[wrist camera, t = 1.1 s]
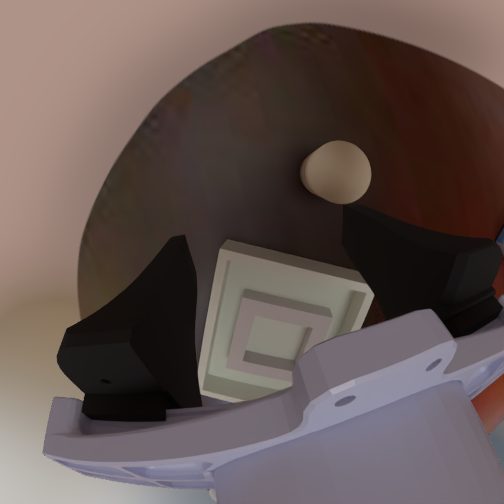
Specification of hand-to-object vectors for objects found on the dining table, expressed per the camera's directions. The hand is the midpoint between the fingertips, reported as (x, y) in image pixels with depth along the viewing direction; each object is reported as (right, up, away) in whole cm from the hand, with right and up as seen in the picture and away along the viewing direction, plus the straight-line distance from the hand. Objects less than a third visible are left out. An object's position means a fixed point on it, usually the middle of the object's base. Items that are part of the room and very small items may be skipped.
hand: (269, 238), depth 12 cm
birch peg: (+6, +6, +12) cm, 14 cm away
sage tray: (+2, -9, +16) cm, 19 cm away
